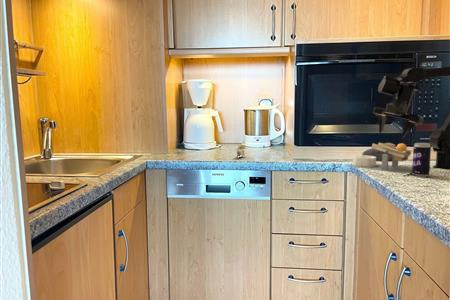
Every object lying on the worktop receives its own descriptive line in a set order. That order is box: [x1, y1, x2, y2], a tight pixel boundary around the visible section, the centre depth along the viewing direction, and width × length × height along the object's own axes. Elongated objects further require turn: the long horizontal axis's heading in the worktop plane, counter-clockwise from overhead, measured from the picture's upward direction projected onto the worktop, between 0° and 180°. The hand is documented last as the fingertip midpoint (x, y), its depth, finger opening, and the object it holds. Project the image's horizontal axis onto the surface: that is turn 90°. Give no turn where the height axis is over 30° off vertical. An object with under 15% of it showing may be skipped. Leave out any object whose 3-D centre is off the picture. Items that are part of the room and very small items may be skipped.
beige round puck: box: [352, 154, 377, 167], centre depth 153 cm, size 9×9×4 cm
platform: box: [234, 144, 248, 158], centre depth 184 cm, size 12×18×7 cm, turn 161°
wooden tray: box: [371, 142, 413, 162], centre depth 147 cm, size 16×13×4 cm
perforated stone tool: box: [361, 147, 392, 162], centre depth 167 cm, size 15×5×7 cm, turn 79°
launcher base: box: [345, 154, 414, 177], centre depth 148 cm, size 14×24×7 cm, turn 42°
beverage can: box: [411, 142, 432, 178], centre depth 135 cm, size 6×6×12 cm
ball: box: [396, 143, 408, 152], centre depth 141 cm, size 4×4×4 cm
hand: (390, 135), depth 151 cm, fingers open, 9 cm apart
